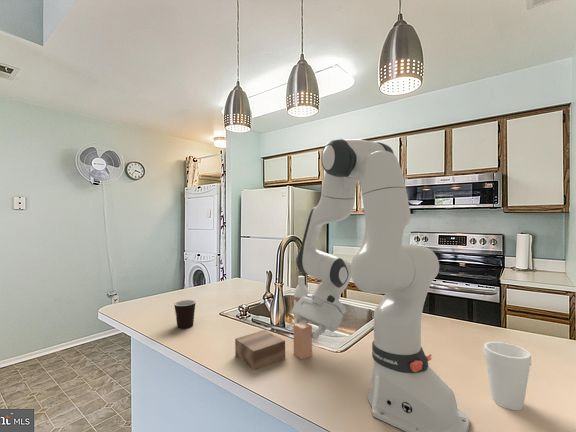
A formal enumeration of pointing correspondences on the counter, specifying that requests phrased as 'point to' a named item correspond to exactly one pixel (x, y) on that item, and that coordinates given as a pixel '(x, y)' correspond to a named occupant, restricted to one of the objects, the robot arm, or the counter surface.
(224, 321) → the counter surface
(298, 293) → the bath foam
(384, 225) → the robot arm
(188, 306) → the coffee mug
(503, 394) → the foam cup
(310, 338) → the light wooden block
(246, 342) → the walnut block
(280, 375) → the counter surface
